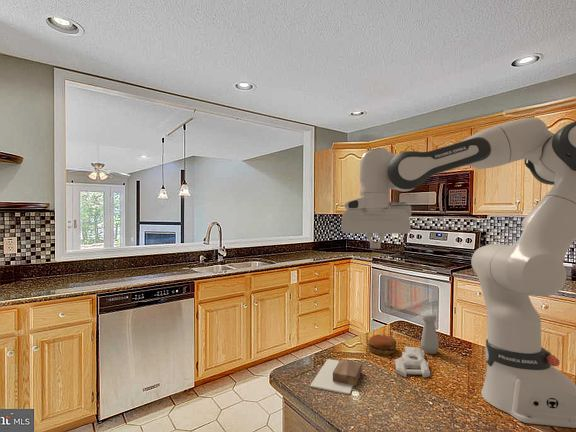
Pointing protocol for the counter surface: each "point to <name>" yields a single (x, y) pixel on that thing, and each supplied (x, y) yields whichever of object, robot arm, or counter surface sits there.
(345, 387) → the mat
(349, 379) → the block
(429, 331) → the salt shaker
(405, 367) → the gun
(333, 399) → the counter surface
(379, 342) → the burger
